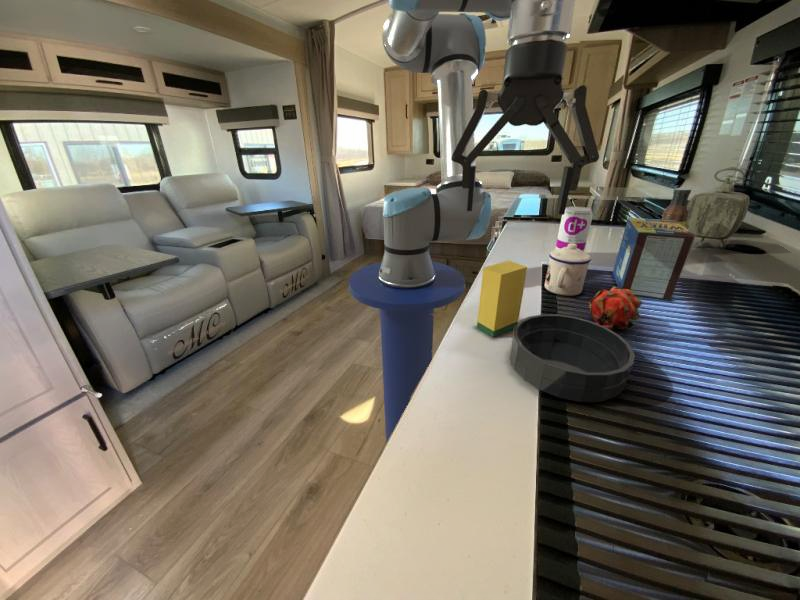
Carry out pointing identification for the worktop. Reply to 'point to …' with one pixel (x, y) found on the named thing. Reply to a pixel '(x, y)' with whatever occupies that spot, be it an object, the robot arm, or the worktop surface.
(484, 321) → the sponge
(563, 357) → the bowl
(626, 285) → the protein box
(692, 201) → the tabletop clock
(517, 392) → the worktop surface
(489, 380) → the worktop surface
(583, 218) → the supplement can
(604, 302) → the dragon fruit
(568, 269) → the teacup with lid
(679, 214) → the sauce bottle
